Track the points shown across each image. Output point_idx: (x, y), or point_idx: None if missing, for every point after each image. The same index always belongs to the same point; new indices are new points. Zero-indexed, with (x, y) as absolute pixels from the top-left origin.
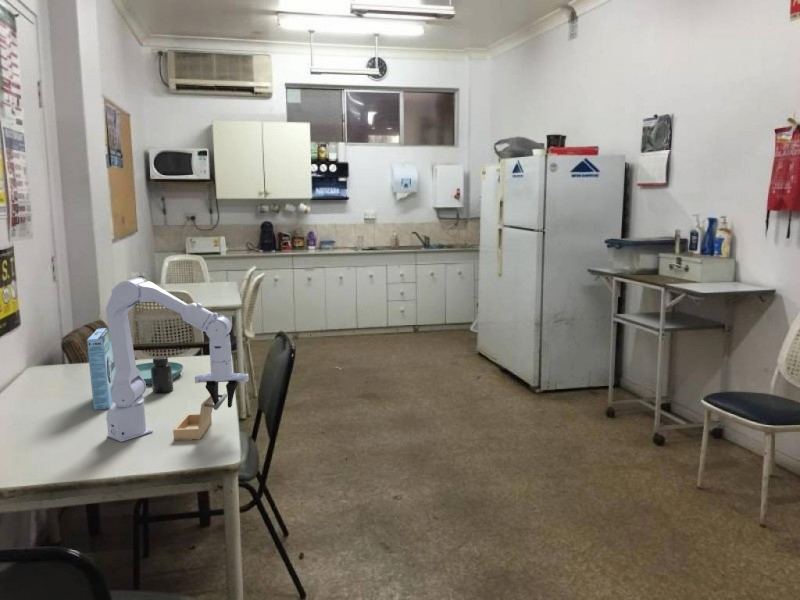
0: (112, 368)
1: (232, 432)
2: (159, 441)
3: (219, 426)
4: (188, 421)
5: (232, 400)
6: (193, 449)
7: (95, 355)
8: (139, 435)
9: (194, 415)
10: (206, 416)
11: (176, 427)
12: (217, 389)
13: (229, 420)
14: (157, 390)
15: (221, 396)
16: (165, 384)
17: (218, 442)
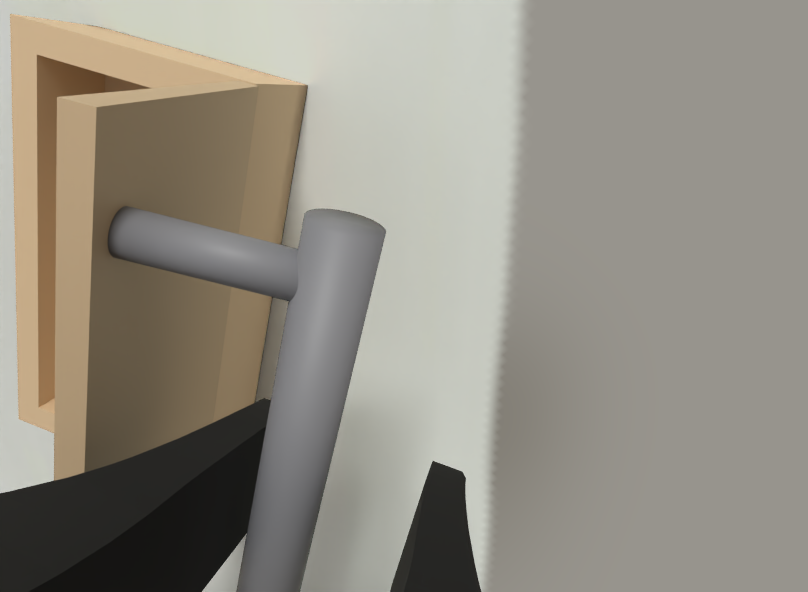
0: None
1: (487, 398)
2: (6, 349)
3: (380, 200)
4: (84, 91)
5: (465, 519)
6: (230, 567)
7: None
8: None
9: (95, 68)
10: (210, 351)
11: (27, 379)
12: (117, 581)
13: (485, 41)
14: None
15: (279, 298)
16: None
17: (375, 538)
